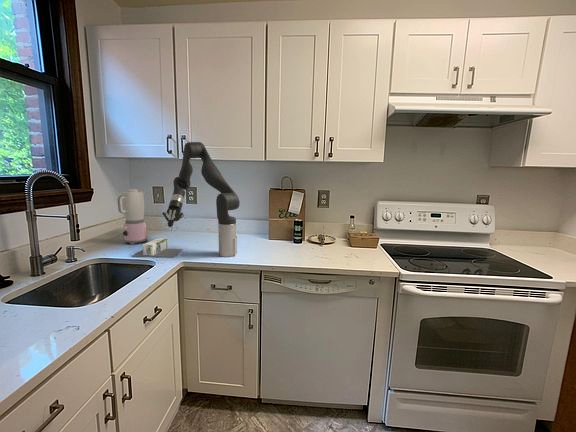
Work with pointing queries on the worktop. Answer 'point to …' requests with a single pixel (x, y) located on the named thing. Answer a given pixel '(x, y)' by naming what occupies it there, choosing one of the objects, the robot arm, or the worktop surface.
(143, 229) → the blender
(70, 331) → the worktop surface
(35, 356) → the worktop surface
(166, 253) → the slate mat
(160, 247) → the syrup box
